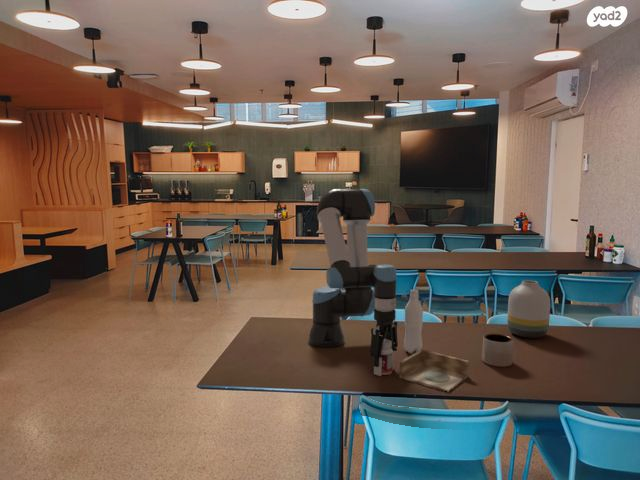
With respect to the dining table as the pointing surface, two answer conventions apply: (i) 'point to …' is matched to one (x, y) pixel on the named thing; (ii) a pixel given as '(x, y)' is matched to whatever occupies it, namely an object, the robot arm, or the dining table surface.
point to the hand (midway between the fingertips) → (383, 371)
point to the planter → (497, 350)
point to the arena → (434, 370)
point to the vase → (528, 310)
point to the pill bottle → (387, 357)
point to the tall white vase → (413, 323)
